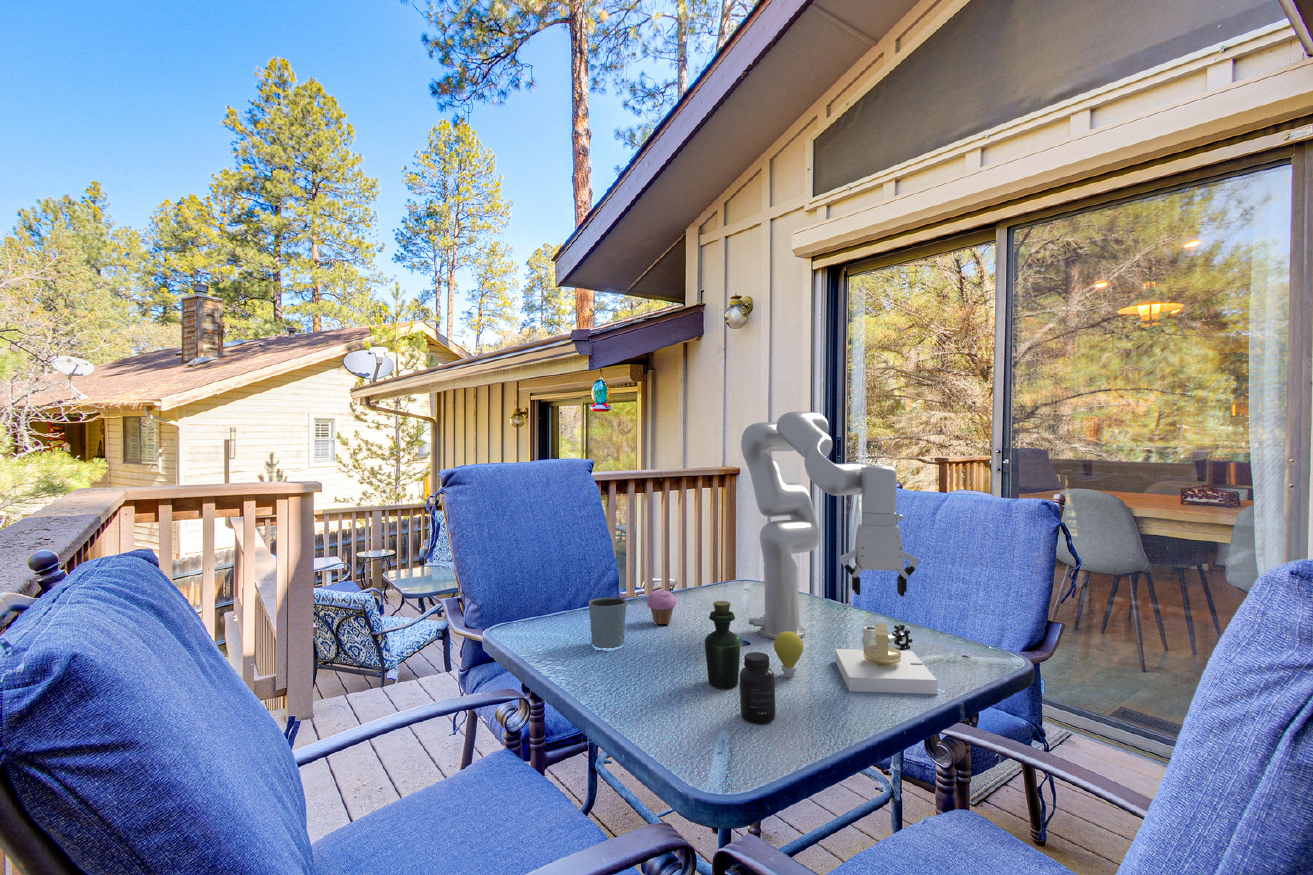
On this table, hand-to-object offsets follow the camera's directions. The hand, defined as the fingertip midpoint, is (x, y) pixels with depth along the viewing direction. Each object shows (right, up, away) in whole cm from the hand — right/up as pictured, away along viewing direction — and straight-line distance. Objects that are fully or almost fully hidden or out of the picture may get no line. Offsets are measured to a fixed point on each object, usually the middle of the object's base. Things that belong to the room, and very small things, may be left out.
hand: (879, 594), depth 138 cm
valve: (+7, -19, +15) cm, 25 cm away
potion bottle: (-36, -19, -3) cm, 41 cm away
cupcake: (-49, -20, +43) cm, 68 cm away
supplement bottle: (-31, -19, -20) cm, 42 cm away
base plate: (+1, -19, -1) cm, 19 cm away
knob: (+1, -15, 0) cm, 15 cm away
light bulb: (-20, -19, +1) cm, 28 cm away
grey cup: (-64, -20, +24) cm, 71 cm away
